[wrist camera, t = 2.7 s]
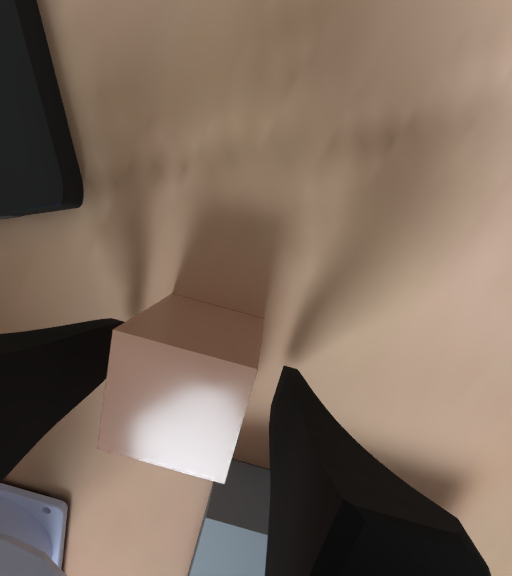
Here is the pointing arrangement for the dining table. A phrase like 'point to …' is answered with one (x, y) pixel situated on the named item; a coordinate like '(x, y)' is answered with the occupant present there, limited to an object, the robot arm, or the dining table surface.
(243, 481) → the base board
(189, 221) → the dining table surface
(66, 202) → the smart home device
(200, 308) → the pale pink cube
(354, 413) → the dining table surface
